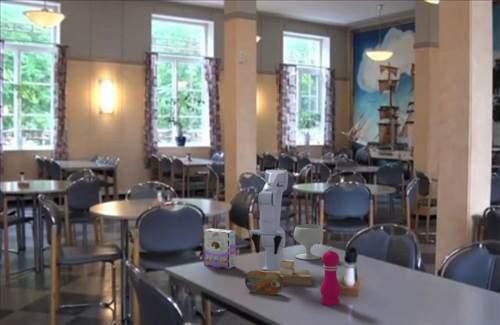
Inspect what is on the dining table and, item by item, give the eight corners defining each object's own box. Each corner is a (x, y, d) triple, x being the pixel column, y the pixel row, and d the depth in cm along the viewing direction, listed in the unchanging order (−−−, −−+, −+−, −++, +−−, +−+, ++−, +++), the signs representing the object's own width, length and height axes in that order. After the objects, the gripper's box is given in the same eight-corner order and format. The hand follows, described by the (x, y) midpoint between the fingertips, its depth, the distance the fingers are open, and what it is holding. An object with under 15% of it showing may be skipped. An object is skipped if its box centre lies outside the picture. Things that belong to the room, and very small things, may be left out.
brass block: (264, 280, 232) (264, 270, 232) (308, 279, 233) (308, 270, 232) (265, 287, 222) (265, 277, 222) (311, 286, 223) (311, 276, 222)
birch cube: (283, 271, 230) (283, 259, 230) (294, 272, 228) (294, 260, 228) (280, 274, 226) (280, 262, 226) (290, 275, 224) (291, 263, 224)
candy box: (236, 266, 253) (236, 230, 252) (228, 269, 248) (228, 232, 247) (211, 263, 260) (210, 227, 259) (203, 265, 255) (203, 229, 254)
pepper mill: (327, 307, 195) (328, 250, 194) (316, 301, 202) (316, 246, 200) (344, 304, 199) (345, 247, 197) (332, 298, 205) (333, 244, 204)
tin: (244, 291, 215) (244, 269, 214) (248, 289, 218) (248, 267, 217) (280, 296, 208) (280, 274, 207) (284, 294, 211) (284, 272, 210)
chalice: (328, 257, 271) (328, 226, 270) (311, 262, 261) (311, 230, 260) (304, 253, 280) (305, 222, 280) (287, 257, 270) (287, 226, 269)
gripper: (246, 221, 231) (247, 254, 232) (281, 223, 226) (281, 256, 227) (252, 218, 237) (252, 250, 238) (285, 220, 233) (285, 252, 234)
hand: (266, 253), depth 233 cm, fingers open, 7 cm apart
